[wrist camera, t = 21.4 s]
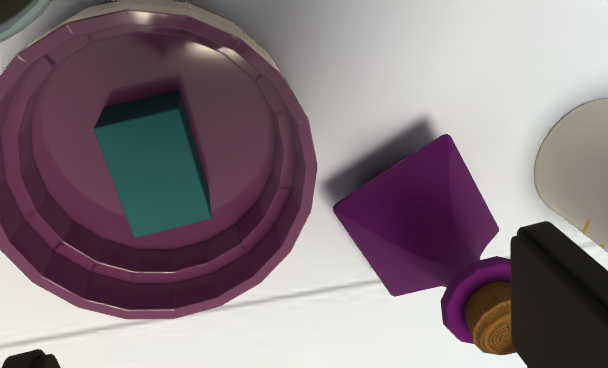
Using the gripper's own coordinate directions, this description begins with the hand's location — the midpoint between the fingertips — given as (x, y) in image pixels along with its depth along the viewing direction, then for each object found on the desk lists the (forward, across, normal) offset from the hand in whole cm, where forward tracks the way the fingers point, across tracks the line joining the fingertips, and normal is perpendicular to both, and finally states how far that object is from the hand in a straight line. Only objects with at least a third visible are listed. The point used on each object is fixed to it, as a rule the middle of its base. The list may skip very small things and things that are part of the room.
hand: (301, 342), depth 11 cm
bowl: (+21, +5, +3) cm, 22 cm away
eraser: (+20, +5, +3) cm, 21 cm away
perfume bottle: (+21, -8, +9) cm, 25 cm away
